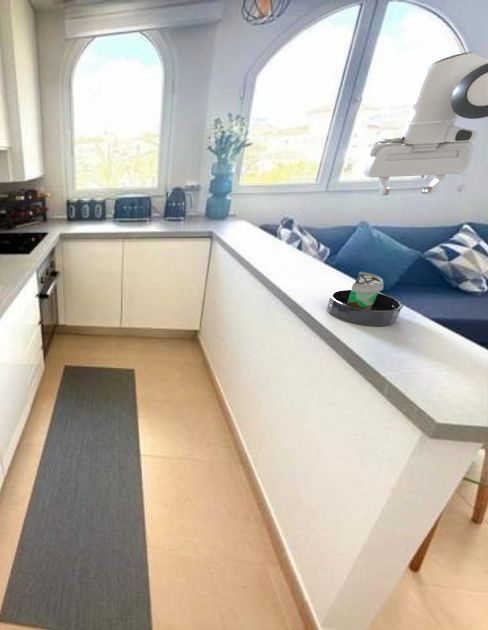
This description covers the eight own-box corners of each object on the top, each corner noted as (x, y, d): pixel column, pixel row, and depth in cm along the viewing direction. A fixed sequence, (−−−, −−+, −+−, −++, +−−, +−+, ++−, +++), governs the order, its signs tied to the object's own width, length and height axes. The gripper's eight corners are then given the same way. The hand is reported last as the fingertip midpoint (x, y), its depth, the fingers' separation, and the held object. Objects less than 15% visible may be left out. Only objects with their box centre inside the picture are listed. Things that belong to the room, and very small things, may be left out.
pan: (379, 304, 102) (384, 290, 100) (409, 328, 89) (416, 313, 87) (318, 301, 106) (322, 288, 104) (339, 324, 93) (343, 309, 91)
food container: (370, 323, 91) (383, 288, 87) (342, 317, 95) (353, 283, 91) (376, 307, 99) (388, 275, 95) (349, 302, 103) (359, 271, 99)
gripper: (380, 139, 85) (363, 197, 91) (487, 131, 80) (461, 194, 86) (368, 139, 91) (353, 194, 97) (467, 132, 85) (444, 191, 91)
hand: (404, 194), depth 91 cm, fingers open, 8 cm apart
